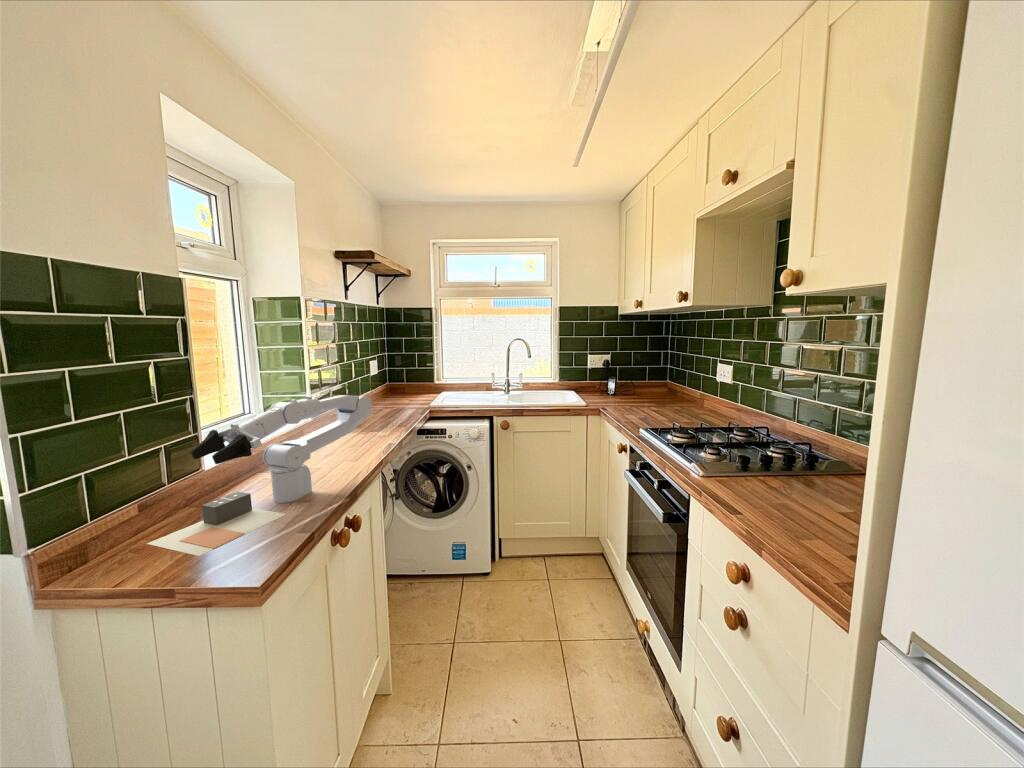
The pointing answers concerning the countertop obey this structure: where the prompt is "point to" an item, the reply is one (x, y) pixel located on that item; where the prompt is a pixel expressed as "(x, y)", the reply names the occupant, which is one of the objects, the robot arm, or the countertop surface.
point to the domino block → (226, 508)
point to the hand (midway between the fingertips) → (203, 457)
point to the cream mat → (214, 533)
